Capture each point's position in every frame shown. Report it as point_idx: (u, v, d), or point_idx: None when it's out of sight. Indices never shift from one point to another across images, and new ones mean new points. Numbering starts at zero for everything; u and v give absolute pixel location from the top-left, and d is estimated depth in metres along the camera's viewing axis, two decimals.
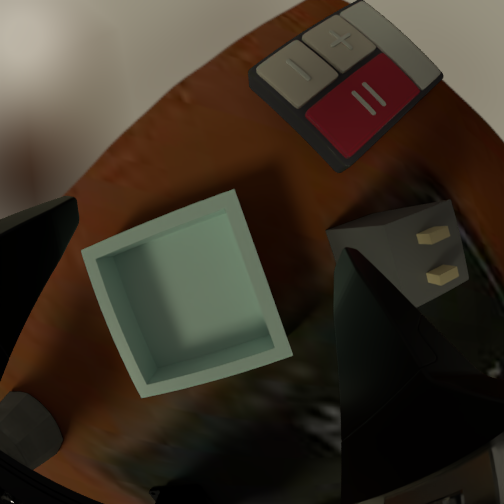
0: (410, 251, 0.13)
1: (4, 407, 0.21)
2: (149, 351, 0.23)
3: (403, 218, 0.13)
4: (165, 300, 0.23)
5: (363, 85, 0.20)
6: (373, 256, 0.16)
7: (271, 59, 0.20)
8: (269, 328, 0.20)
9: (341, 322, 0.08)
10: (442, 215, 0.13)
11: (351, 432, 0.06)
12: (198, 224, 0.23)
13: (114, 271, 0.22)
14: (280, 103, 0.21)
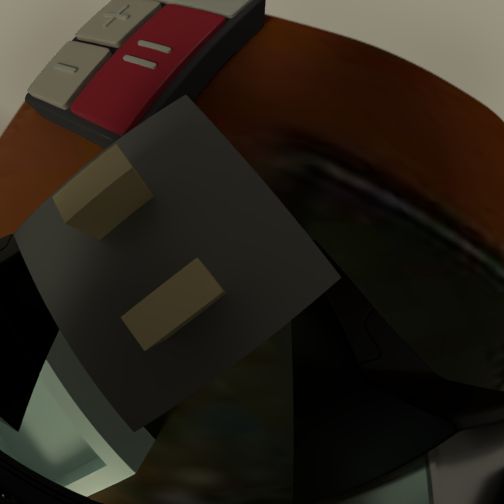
0: (78, 269, 0.05)
1: None
2: None
3: None
4: None
5: (140, 44, 0.14)
6: None
7: (41, 73, 0.14)
8: (87, 440, 0.10)
9: None
10: (164, 138, 0.05)
11: (301, 431, 0.06)
12: None
13: None
14: (52, 114, 0.14)
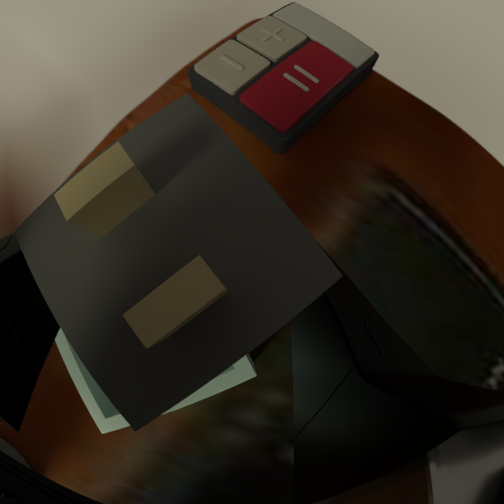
0: (79, 267, 0.05)
1: None
2: None
3: (55, 195, 0.05)
4: None
5: (295, 68, 0.22)
6: None
7: (207, 57, 0.22)
8: None
9: None
10: (166, 136, 0.05)
11: (300, 431, 0.06)
12: None
13: None
14: (216, 93, 0.22)
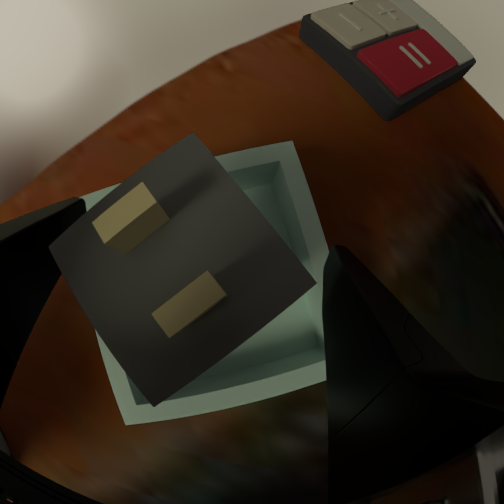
0: (109, 277, 0.06)
1: None
2: None
3: (84, 217, 0.06)
4: None
5: (409, 45, 0.18)
6: None
7: (325, 10, 0.18)
8: None
9: (328, 320, 0.08)
10: (176, 170, 0.07)
11: (337, 432, 0.06)
12: None
13: None
14: (332, 44, 0.19)
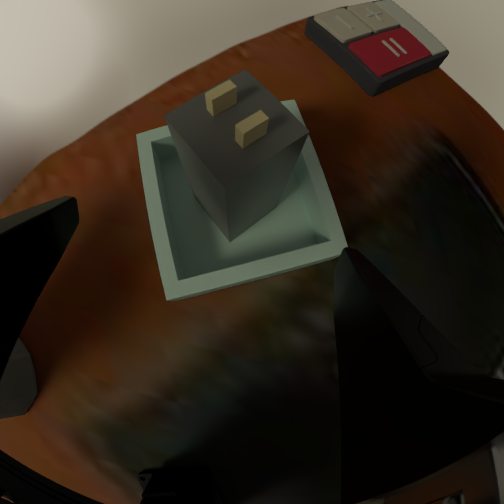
0: (203, 126, 0.12)
1: None
2: (180, 260, 0.22)
3: (187, 103, 0.12)
4: None
5: (390, 40, 0.24)
6: (192, 165, 0.14)
7: (325, 13, 0.24)
8: (325, 218, 0.20)
9: (341, 322, 0.08)
10: (238, 84, 0.12)
11: (351, 433, 0.06)
12: None
13: (160, 170, 0.22)
14: (330, 39, 0.25)
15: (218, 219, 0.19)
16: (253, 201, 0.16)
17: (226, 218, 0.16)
